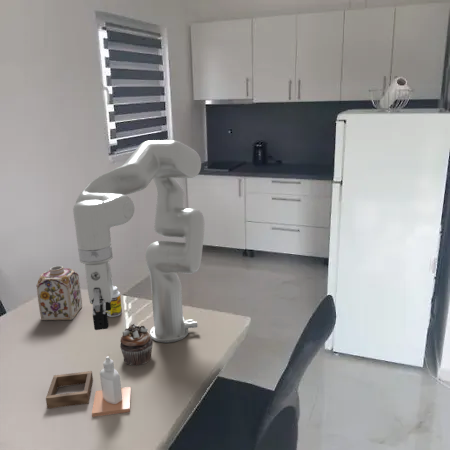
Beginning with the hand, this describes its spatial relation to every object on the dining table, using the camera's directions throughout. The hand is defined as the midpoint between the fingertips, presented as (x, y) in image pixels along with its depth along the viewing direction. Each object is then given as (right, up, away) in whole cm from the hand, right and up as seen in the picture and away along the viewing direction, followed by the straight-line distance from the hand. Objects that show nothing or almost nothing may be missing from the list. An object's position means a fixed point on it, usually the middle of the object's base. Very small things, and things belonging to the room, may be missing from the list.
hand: (103, 319), depth 109 cm
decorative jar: (-30, -10, +55) cm, 64 cm away
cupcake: (+4, -17, +24) cm, 30 cm away
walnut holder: (-11, -21, +8) cm, 25 cm away
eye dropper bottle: (+1, -21, +4) cm, 22 cm away
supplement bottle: (-11, -10, +54) cm, 55 cm away
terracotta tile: (+1, -22, +4) cm, 23 cm away
